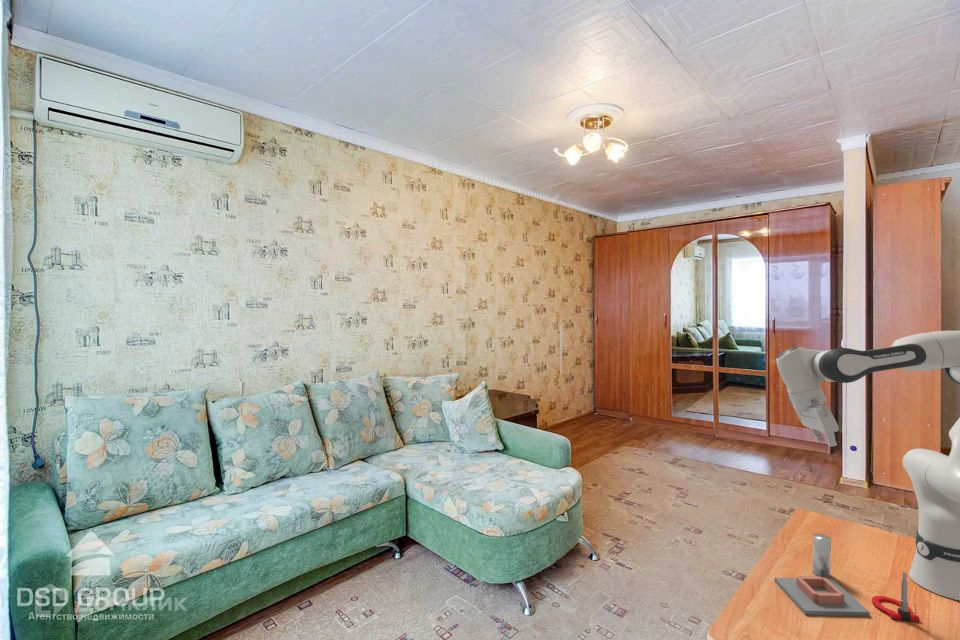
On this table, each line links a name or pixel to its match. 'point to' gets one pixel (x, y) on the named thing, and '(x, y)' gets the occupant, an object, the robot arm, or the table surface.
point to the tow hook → (904, 610)
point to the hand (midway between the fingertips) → (826, 443)
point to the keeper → (820, 596)
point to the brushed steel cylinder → (821, 555)
